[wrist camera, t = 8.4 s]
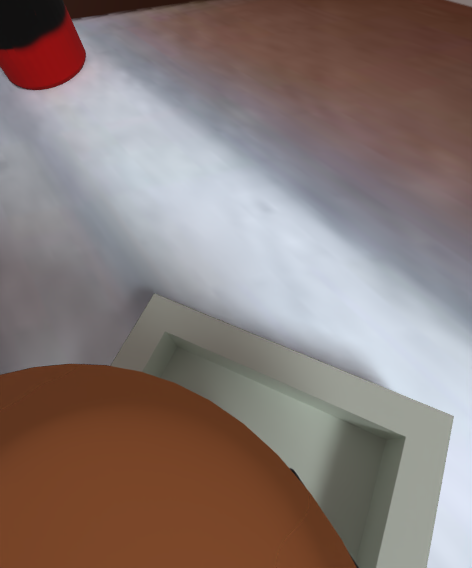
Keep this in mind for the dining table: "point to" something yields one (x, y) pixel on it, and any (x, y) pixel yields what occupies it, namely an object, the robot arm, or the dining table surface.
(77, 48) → the soda can
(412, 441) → the tray
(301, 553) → the pin
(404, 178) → the dining table surface
